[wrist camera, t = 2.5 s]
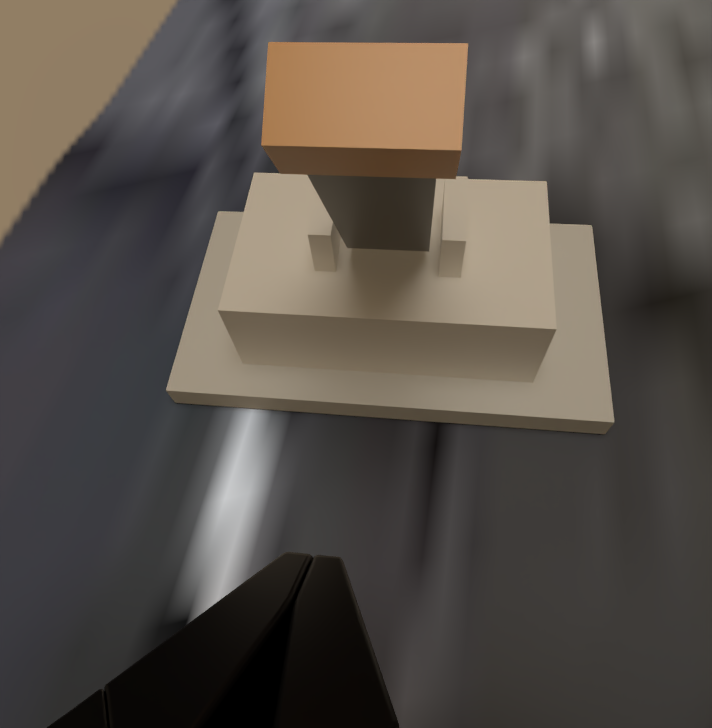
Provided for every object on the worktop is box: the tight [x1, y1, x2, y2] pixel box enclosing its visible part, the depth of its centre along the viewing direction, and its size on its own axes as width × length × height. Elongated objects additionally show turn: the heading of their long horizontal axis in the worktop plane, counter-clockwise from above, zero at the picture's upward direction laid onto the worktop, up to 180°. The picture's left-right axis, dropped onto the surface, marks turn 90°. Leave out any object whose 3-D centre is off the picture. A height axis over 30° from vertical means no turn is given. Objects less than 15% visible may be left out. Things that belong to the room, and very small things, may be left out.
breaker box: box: [166, 173, 614, 434], centre depth 24 cm, size 10×18×7 cm, turn 84°
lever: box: [261, 42, 468, 252], centre depth 16 cm, size 2×4×10 cm, turn 84°
